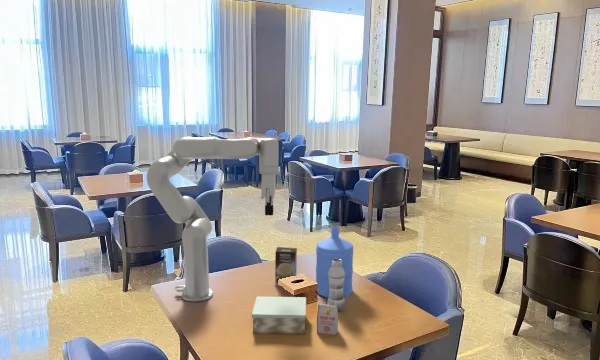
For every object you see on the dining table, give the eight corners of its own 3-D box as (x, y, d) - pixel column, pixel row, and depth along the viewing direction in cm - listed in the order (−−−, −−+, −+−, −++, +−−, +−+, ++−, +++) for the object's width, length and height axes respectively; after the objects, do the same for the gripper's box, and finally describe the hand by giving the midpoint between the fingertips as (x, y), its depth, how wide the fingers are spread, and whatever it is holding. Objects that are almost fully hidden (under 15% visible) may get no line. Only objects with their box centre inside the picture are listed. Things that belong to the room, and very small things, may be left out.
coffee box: (274, 286, 198) (274, 251, 195) (276, 280, 204) (276, 246, 202) (295, 287, 197) (295, 252, 195) (296, 281, 203) (297, 247, 201)
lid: (251, 317, 156) (251, 314, 156) (256, 299, 171) (256, 296, 170) (305, 318, 156) (305, 315, 156) (306, 300, 170) (306, 297, 170)
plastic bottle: (343, 313, 173) (344, 263, 170) (326, 312, 174) (327, 262, 171) (345, 306, 179) (346, 258, 176) (328, 304, 180) (329, 256, 177)
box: (252, 333, 158) (252, 317, 157) (257, 314, 171) (257, 299, 170) (304, 334, 157) (304, 318, 156) (305, 315, 171) (305, 300, 170)
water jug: (353, 299, 186) (355, 233, 181) (315, 298, 186) (316, 233, 181) (350, 284, 201) (352, 223, 196) (315, 283, 201) (316, 223, 197)
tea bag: (319, 328, 162) (319, 302, 160) (337, 330, 160) (338, 304, 158) (316, 333, 158) (317, 306, 156) (335, 336, 156) (336, 308, 155)
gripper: (261, 166, 186) (261, 210, 189) (257, 172, 171) (257, 219, 174) (279, 167, 185) (279, 210, 189) (277, 172, 171) (277, 219, 174)
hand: (269, 214), depth 181 cm, fingers closed
